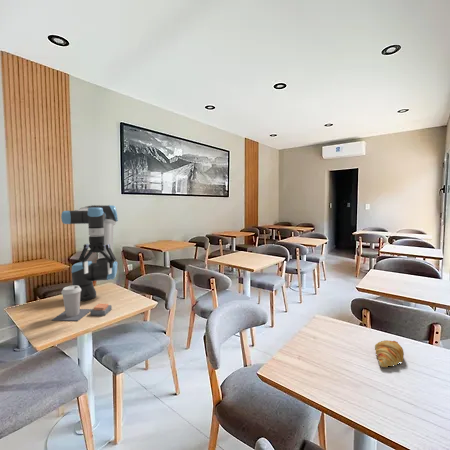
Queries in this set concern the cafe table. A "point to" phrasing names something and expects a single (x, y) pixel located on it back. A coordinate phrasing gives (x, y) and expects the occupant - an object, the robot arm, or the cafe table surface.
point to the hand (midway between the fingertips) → (98, 273)
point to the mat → (74, 318)
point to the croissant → (389, 353)
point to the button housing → (101, 311)
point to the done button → (101, 307)
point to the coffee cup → (71, 300)
